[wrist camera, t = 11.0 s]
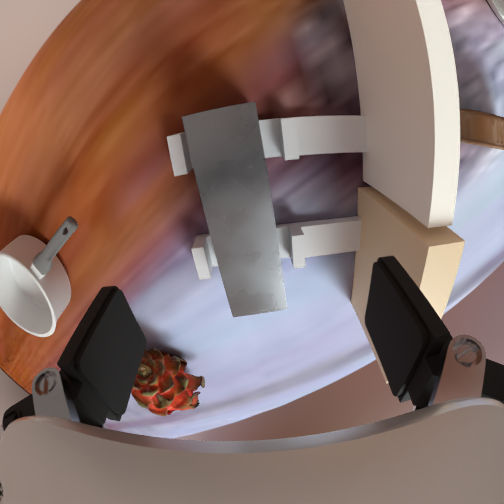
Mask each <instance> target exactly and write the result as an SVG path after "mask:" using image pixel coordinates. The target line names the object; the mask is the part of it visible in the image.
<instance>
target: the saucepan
mask: <svg viewBox="0 0 504 504" xmlns="http://www.w3.org/2000/svg"><path fill="white" fill-rule="evenodd" d="M77 227H78V224H77V222H76V220H75V219H73V218H72V217H70V216H69V217H68V218H67V219H66V220H65V221H64V223H63V224H62V225H61V226H60V228H59V229H58V230H57V232H56V233H55V234H54V236H53V237H52V238H51V240H50V241H49V242H48V244H47V245H46V244H44V243H43V242H42V241H40V240H39V239H37V238H35V237H33V236H30V235H21V236H18V237H17V238H15V239H14V240H13V241H12V242H10V243H9V244H8V245H7V246H6V247H4V248H3V249H2V250H1V251H0V307H1V308H2V310H3V311H4V312H5V313H6V315H7V316H8V317H9V318H10V319H11V320H12V321H13V322H14V323H15V324H17V325H18V326H19V327H20V328H22V329H23V330H25V331H26V332H28V333H30V334H32V335H35V336H39V337H47V336H50V335H51V334H53V332H54V331H55V327H56V321H57V320H58V318H59V317H60V315H61V314H62V312H63V311H64V309H65V308H66V307H67V305H68V304H69V302H70V299H71V286H70V282H69V278H68V275H67V273H66V271H65V269H64V267H63V265H62V263H61V262H60V260H59V259H58V257H57V256H56V254H57V252H58V251H59V250H60V249H61V247H62V246H63V245H64V244H65V242H66V241H67V240H68V239H69V237H70V236H71V235H72V234H73V232H74V231H75V230H76V229H77ZM67 228H68V230H67Z"/></svg>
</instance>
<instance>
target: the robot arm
mask: <svg viewBox="0 0 504 504" xmlns="http://www.w3.org/2000/svg"><path fill="white" fill-rule="evenodd" d="M487 1H488V3H489V5H490V6H491V8H492V10H493V11H494V13H495V14H496V16H497V17H498V18H499V20H500V21H501V23H502V24H503V25H504V0H487ZM365 326H366V328H367V331H368V333H369V335H370V338H371V340H372V342H373V345H374V347H375V350H376V352H377V355H378V357H379V359H380V362H381V365H382V367H383V370H384V372H385V375H386V377H387V380H388V383H389V385H390V388H391V391H392V393H393V395H394V396H398V398H399V401H400V402H404V401H407V400H410V399H411V401H412V403H413V405H414V407H413V410H412V412H409V413H406V414H403V415H399V416H396V417H392V418H389V419H385V420H381V421H378V422H374V423H370V424H365V425H361V426H357V427H353V428H348V429H343V430H339V431H333V432H328V433H322V434H316V435H309V436H301V437H293V438H283V439H273V440H258V441H195V440H179V439H169V438H159V437H151V436H144V435H137V434H131V433H125V432H120V431H115V430H110V429H108V427H107V424H106V422H105V420H106V417H107V418H108V419H110V420H116V421H120V419H121V416H122V415H123V414H124V413H125V411H126V408H127V404H128V401H129V398H130V394H131V391H132V388H133V384H134V381H135V378H136V375H137V372H138V369H139V366H140V363H141V360H142V357H143V354H144V351H145V348H146V338H145V336H144V334H143V332H142V331H141V329H140V327H139V325H138V323H137V321H136V319H135V317H134V315H133V313H132V311H131V309H130V307H129V304H128V302H127V300H126V298H125V296H124V294H123V292H122V290H120V289H118V287H116V286H109V287H102V288H101V290H100V291H99V293H98V294H97V296H96V297H95V299H94V301H93V302H92V304H91V305H90V307H89V308H88V310H87V312H86V313H85V315H84V317H83V318H82V320H81V322H80V323H79V325H78V327H77V328H76V330H75V332H74V333H73V335H72V337H71V339H70V341H69V342H68V344H67V346H66V348H65V350H64V351H63V353H62V355H61V357H60V359H59V361H58V363H57V365H58V366H59V367H60V368H61V370H60V372H59V371H58V370H57V369H55V368H46V369H44V370H42V371H41V372H39V374H38V375H37V376H36V377H35V379H34V381H33V384H32V394H31V395H29V396H28V397H26V398H24V399H23V400H21V401H20V402H18V403H16V404H15V405H13V406H11V407H10V408H9V409H8V410H6V412H5V413H4V417H3V426H2V425H0V504H504V365H502V364H499V363H497V362H494V361H491V360H489V359H486V352H485V349H484V347H483V346H482V344H481V343H480V342H479V341H478V340H477V339H475V338H474V337H472V336H469V335H459V336H456V337H454V338H452V336H451V335H450V332H449V331H448V329H447V328H446V326H445V325H444V323H443V322H442V320H441V319H440V317H439V316H438V314H437V313H436V311H435V310H434V308H433V307H432V305H431V304H430V303H429V301H428V300H427V298H426V297H425V296H424V294H423V293H422V291H421V290H420V289H419V287H418V286H417V285H416V283H415V282H414V281H413V279H412V278H411V277H410V275H409V274H408V273H407V272H406V270H405V269H404V268H403V266H402V265H401V264H400V263H399V261H398V260H397V259H396V258H395V257H394V256H385V257H379V258H378V259H377V262H374V263H373V267H372V275H371V282H370V288H369V295H368V301H367V307H366V312H365Z"/></svg>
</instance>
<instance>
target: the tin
mask: <svg viewBox="0 0 504 504" xmlns="http://www.w3.org/2000/svg"><path fill="white" fill-rule="evenodd" d="M460 142H461V143H467V144H474V145H480V146H485V147H491V148H496V149H502V150H504V117H500V116H497V115H493V114H489V113H485V112H480V111H474V110H467V109H460Z"/></svg>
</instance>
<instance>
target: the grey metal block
mask: <svg viewBox="0 0 504 504" xmlns="http://www.w3.org/2000/svg"><path fill="white" fill-rule="evenodd" d="M182 120H183V125H184V129H185V134H186V138H187V143H188V147H189V152H190V156H191V160H192V164H193V169H194V173H195V177H196V181H197V185H198V189H199V194H200V198H201V202H202V206H203V210H204V213H205V217H206V221H207V225H208V229H209V233H210V237H211V240H212V244H213V248H214V252H215V255H216V259H217V263H218V266H219V270H220V273H221V277H222V281H223V284H224V288H225V291H226V295H227V298H228V302H229V305H230V308H231V312H232V315H233V317H238V316H245V315H252V314H259V313H266V312H273V311H279V310H285V309H287V304H286V296H285V288H284V281H283V273H282V266H281V259H280V252H279V245H278V238H277V231H276V224H275V217H274V211H273V204H272V198H271V192H270V185H269V179H268V173H267V167H266V161H265V155H264V149H263V143H262V137H261V132H260V126H259V120H258V115H257V109H256V104H255V102H250V103H244V104H238V105H232V106H227V107H222V108H217V109H213V110H208V111H204V112H199V113H195V114H191V115H187V116H183V117H182Z"/></svg>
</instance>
